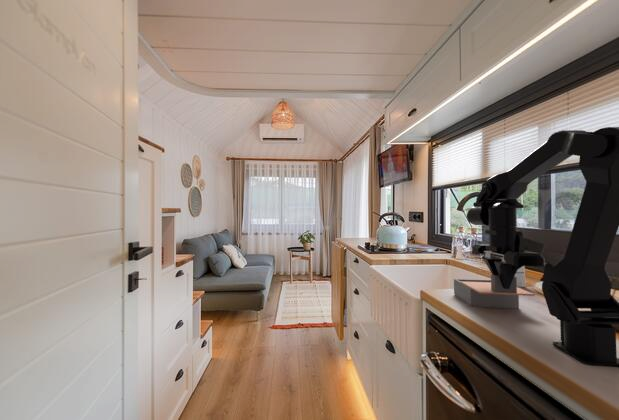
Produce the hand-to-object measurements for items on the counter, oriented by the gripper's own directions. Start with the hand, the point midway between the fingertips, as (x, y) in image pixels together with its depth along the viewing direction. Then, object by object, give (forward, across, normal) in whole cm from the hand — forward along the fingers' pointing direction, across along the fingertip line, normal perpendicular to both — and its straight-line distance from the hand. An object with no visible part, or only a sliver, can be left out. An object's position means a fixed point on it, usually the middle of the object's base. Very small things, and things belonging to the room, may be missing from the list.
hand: (503, 287), depth 63 cm
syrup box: (+7, +29, -20) cm, 36 cm away
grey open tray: (+6, +9, 0) cm, 11 cm away
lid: (+1, +4, 0) cm, 4 cm away
